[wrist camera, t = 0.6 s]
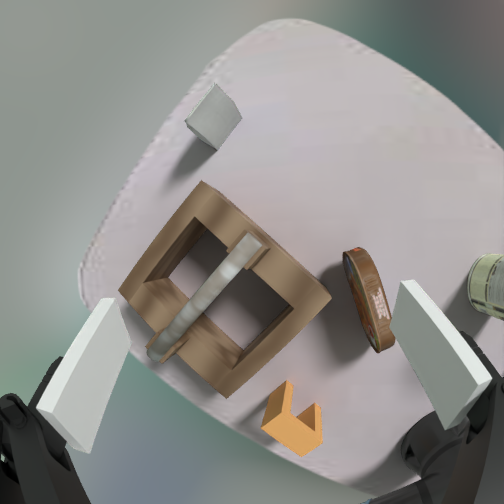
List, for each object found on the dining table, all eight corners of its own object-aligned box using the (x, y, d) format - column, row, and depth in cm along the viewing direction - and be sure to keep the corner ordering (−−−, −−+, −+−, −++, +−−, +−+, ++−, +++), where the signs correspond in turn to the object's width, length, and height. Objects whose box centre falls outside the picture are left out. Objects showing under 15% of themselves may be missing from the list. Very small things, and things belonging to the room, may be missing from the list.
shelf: (326, 288, 41) (337, 309, 27) (239, 375, 44) (213, 421, 30) (219, 191, 44) (182, 169, 30) (144, 283, 47) (92, 296, 33)
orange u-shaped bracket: (320, 407, 42) (322, 442, 32) (303, 421, 42) (301, 457, 32) (286, 380, 43) (281, 412, 33) (269, 394, 43) (260, 428, 33)
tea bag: (242, 118, 43) (226, 88, 33) (217, 150, 44) (195, 127, 34) (224, 108, 43) (206, 78, 34) (200, 140, 44) (176, 116, 34)
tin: (338, 251, 41) (346, 253, 33) (357, 244, 40) (370, 244, 32) (367, 343, 40) (379, 363, 32) (385, 335, 40) (401, 354, 31)
